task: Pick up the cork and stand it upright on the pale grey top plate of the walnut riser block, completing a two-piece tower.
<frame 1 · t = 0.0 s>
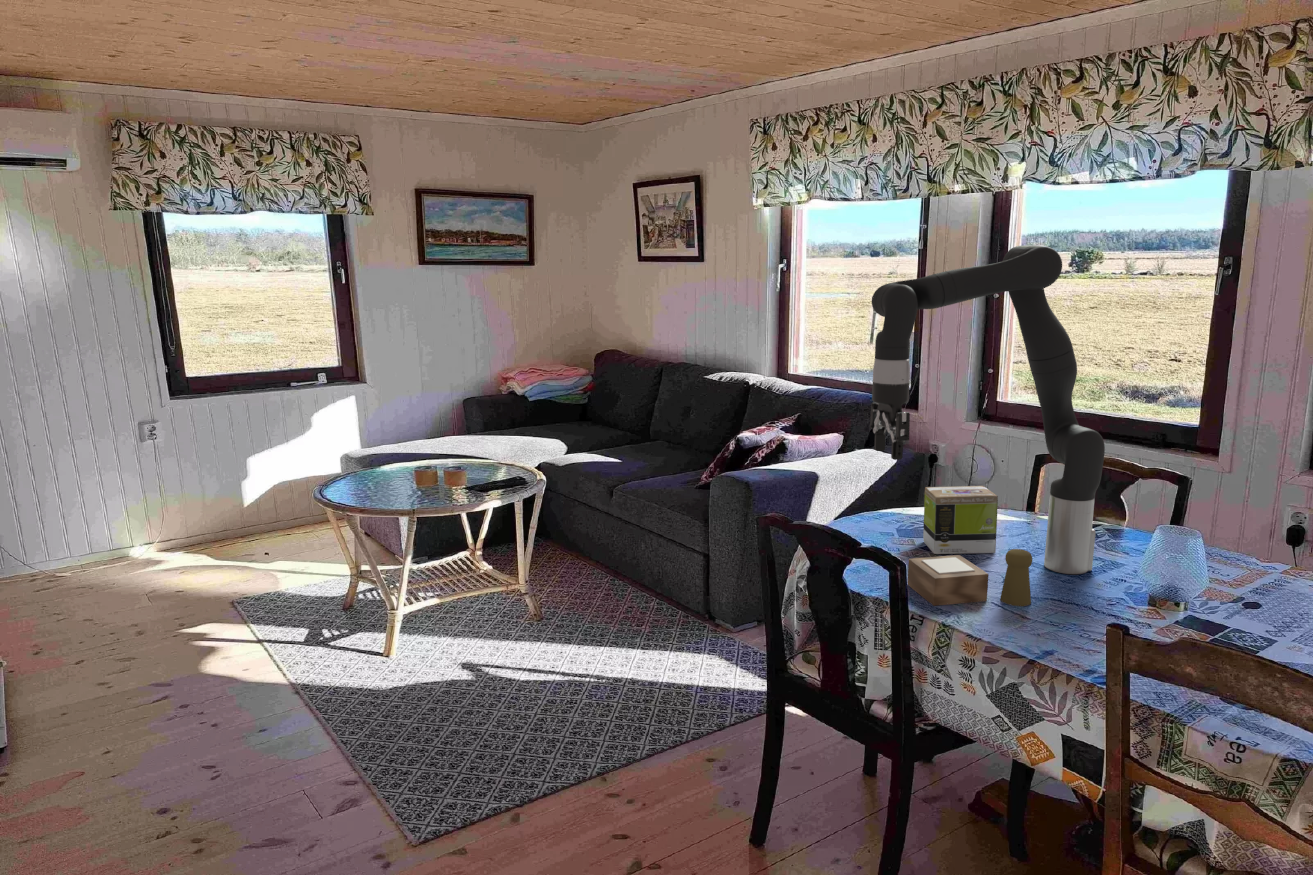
hand: (887, 454, 188), 29 cm above the table, tool pointing down, fingers open, 8 cm apart
walnut riser: (946, 592, 188), on the table
cork: (1015, 601, 184), on the table
tea box: (957, 548, 216), on the table
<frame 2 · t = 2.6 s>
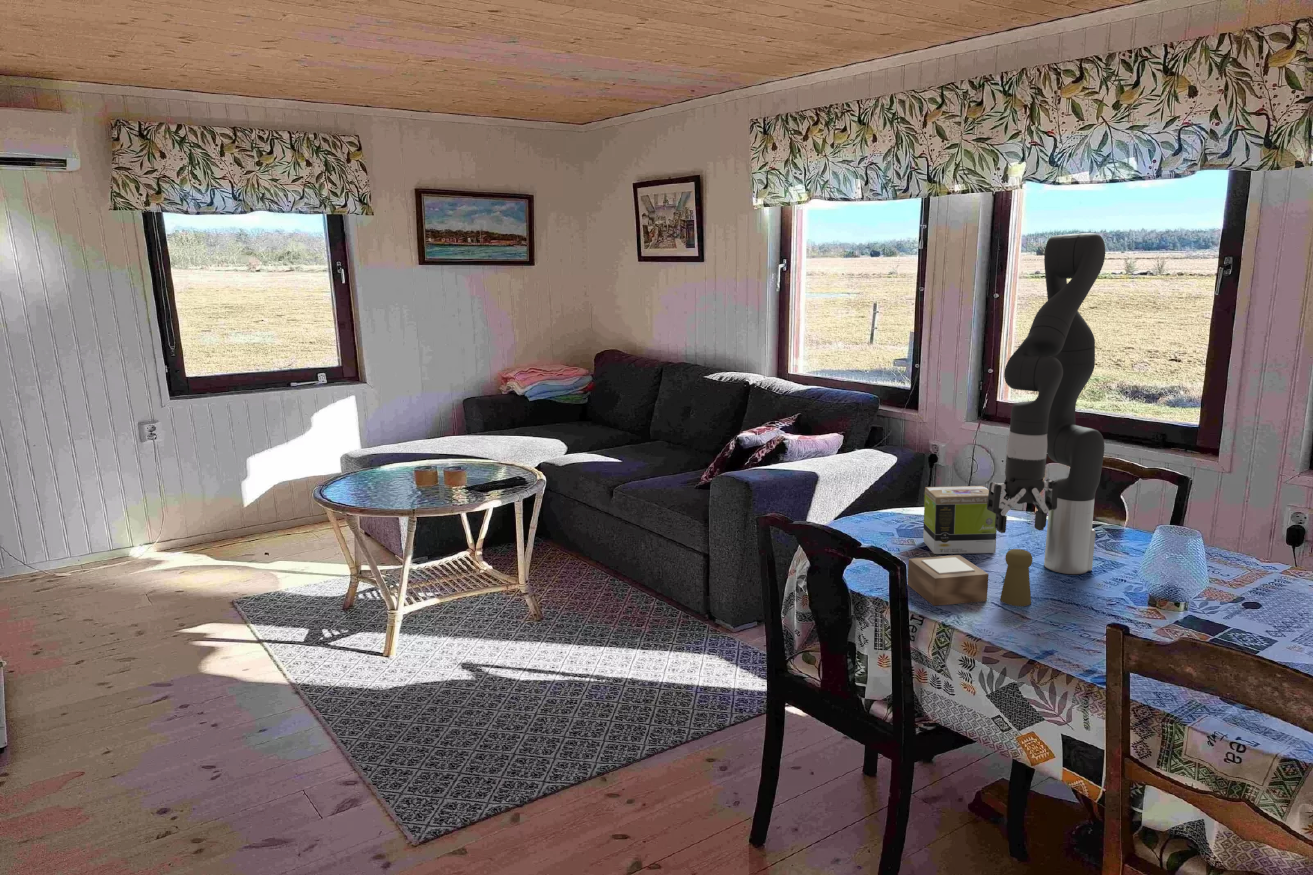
hand: (1019, 530, 181), 15 cm above the table, tool pointing down, fingers open, 8 cm apart
nothing on the table moved.
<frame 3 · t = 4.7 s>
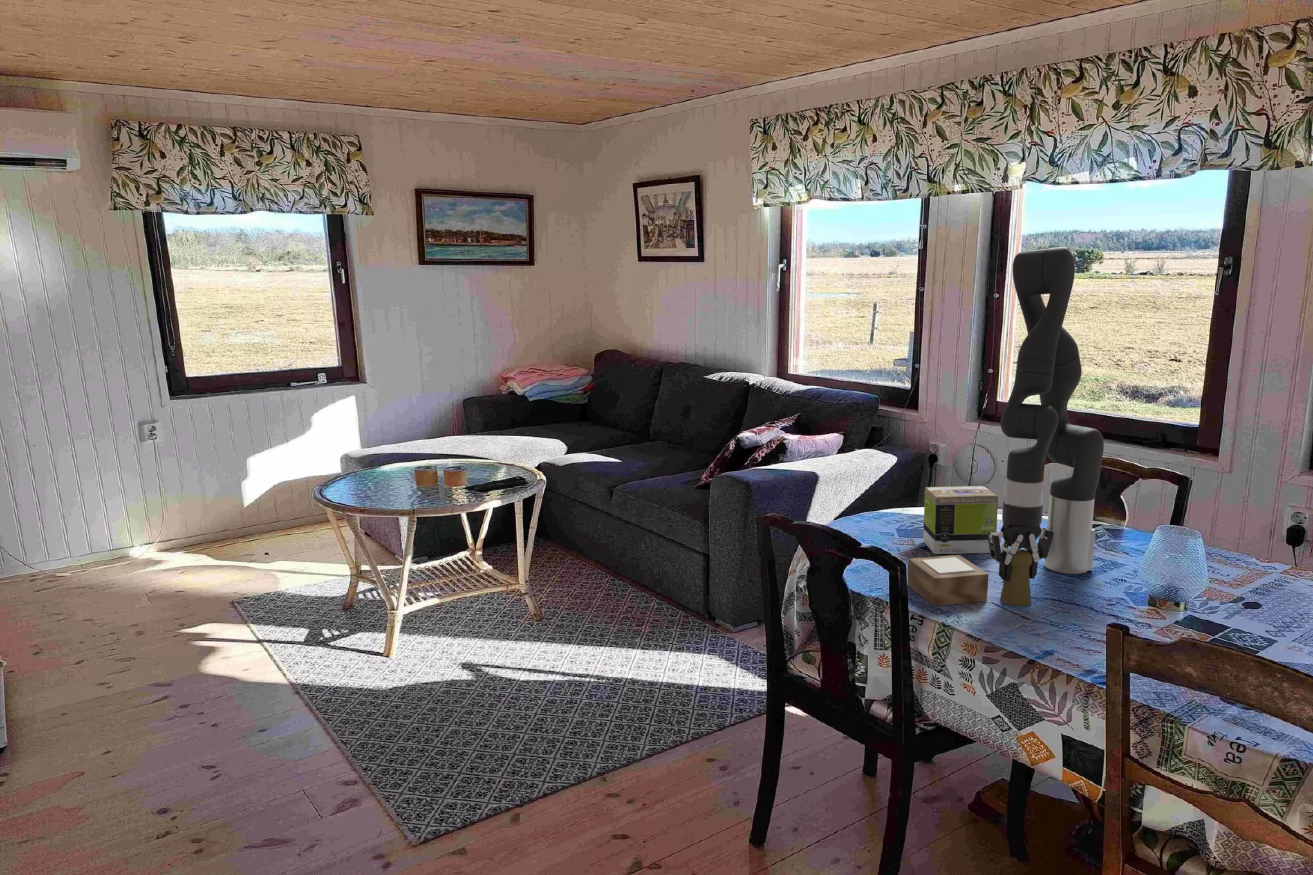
hand: (1017, 578, 183), 5 cm above the table, tool pointing down, fingers closed on cork, 5 cm apart
cork: (1015, 601, 184), on the table, touching gripper
everything else where it was.
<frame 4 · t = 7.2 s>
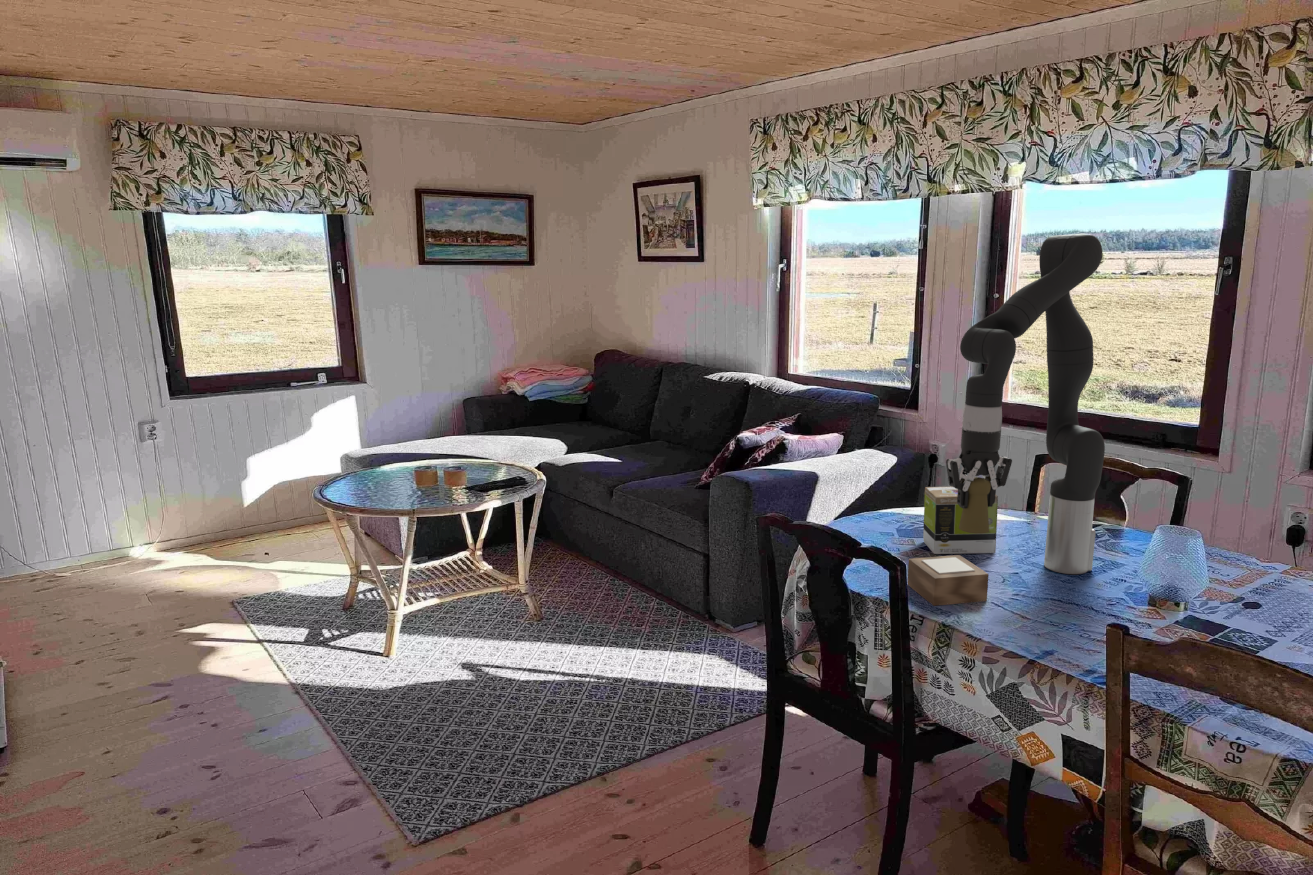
hand: (975, 506, 182), 20 cm above the table, tool pointing down, fingers closed on cork, 5 cm apart
cork: (973, 530, 183), point 15 cm above the table, touching gripper
everything else where it was.
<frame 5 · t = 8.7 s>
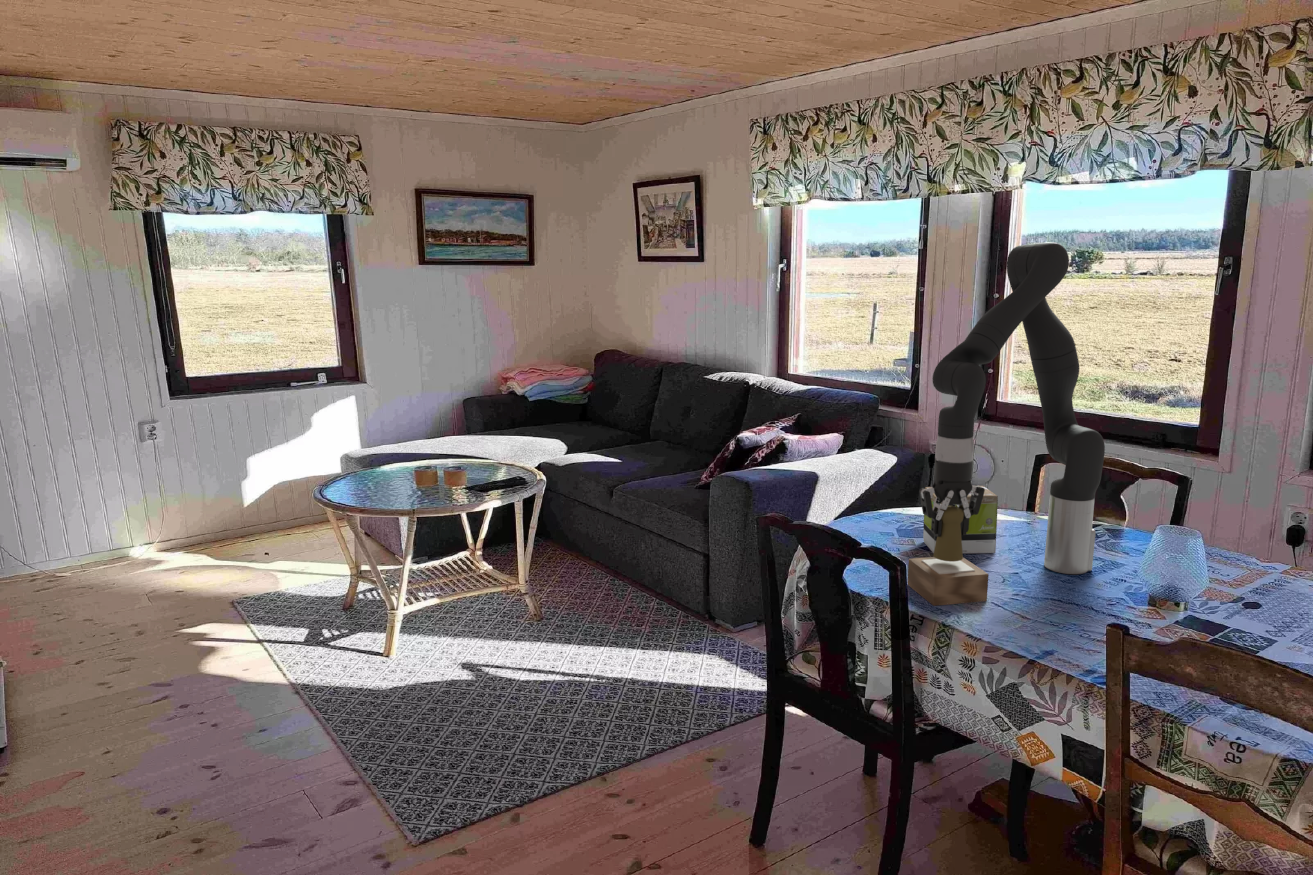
hand: (949, 534, 186), 13 cm above the table, tool pointing down, fingers closed on cork, 5 cm apart
cork: (947, 557, 187), point 8 cm above the table, touching gripper
everything else where it was.
when the fingers open (12 cm above the table, at t = 9.7 s): cork stays where it is, resting on walnut riser.
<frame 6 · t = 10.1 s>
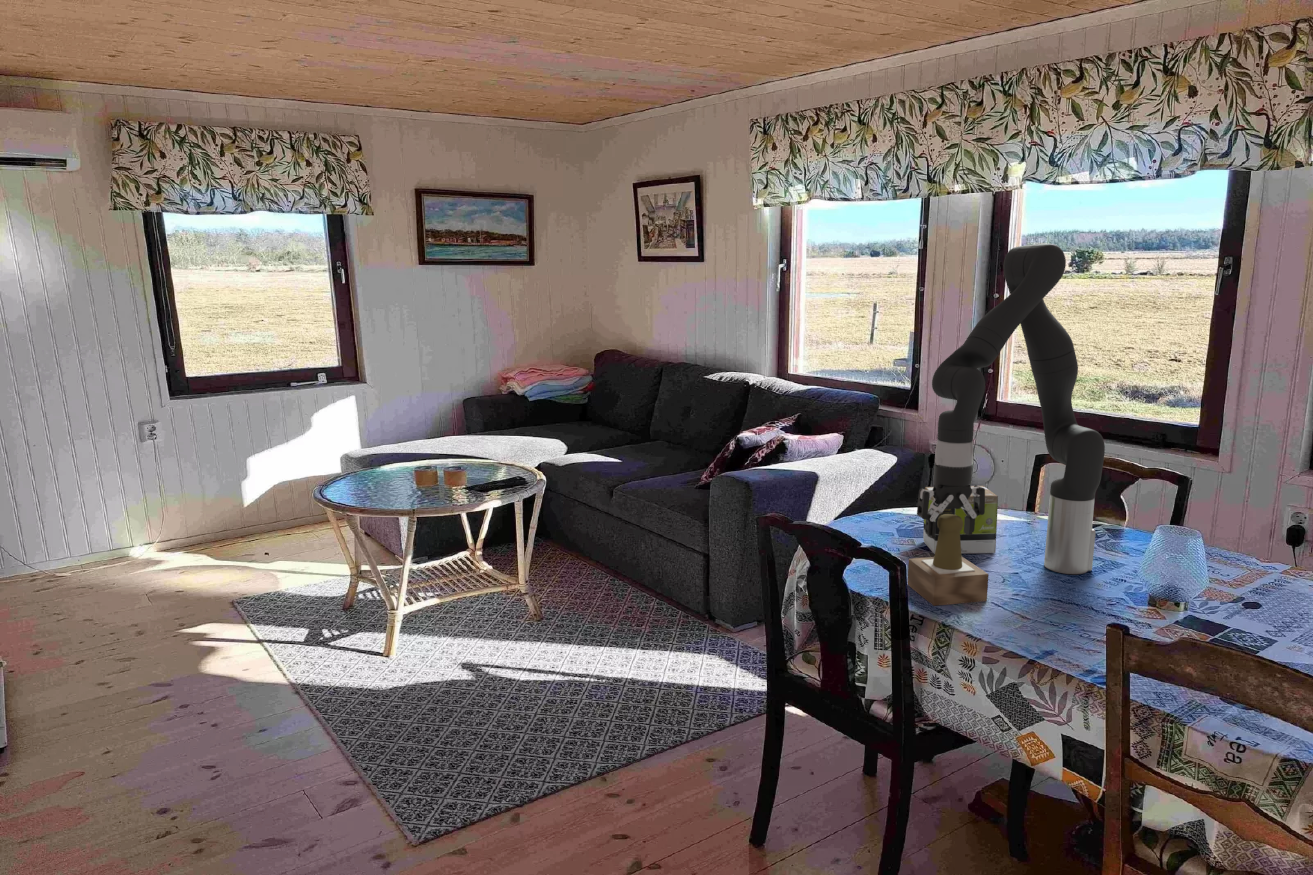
hand: (949, 535, 186), 13 cm above the table, tool pointing down, fingers open, 8 cm apart
cork: (947, 565, 187), point 6 cm above the table, touching walnut riser
everything else where it was.
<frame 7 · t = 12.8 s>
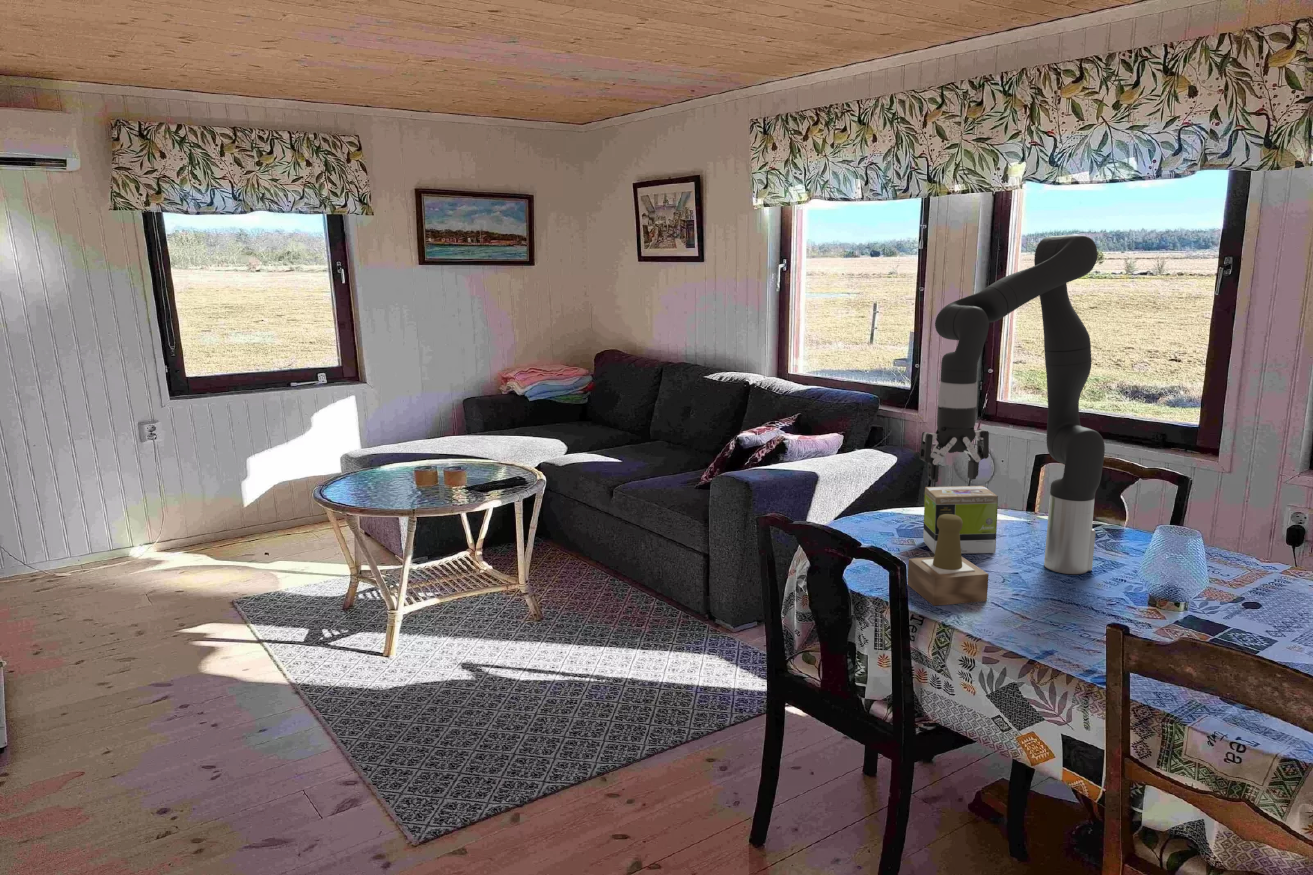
hand: (952, 479, 183), 25 cm above the table, tool pointing down, fingers open, 8 cm apart
nothing on the table moved.
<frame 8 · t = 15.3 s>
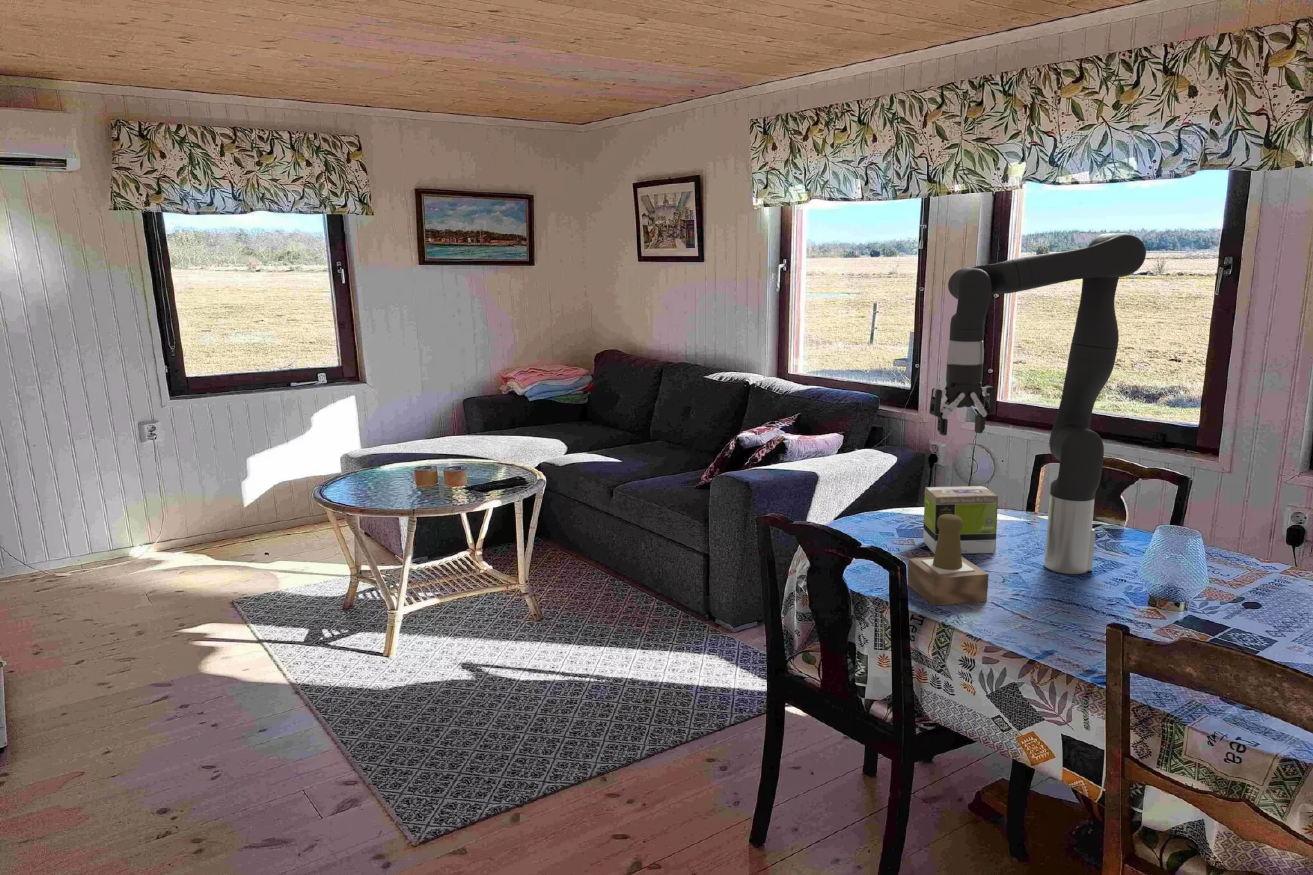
hand: (960, 433, 195), 32 cm above the table, tool pointing down, fingers open, 8 cm apart
nothing on the table moved.
at the end: cork inside the target area on the walnut riser (0.0 cm from its centre), point 6.1 cm above the walnut riser's base; cork tilted 0°; the gripper is holding nothing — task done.
